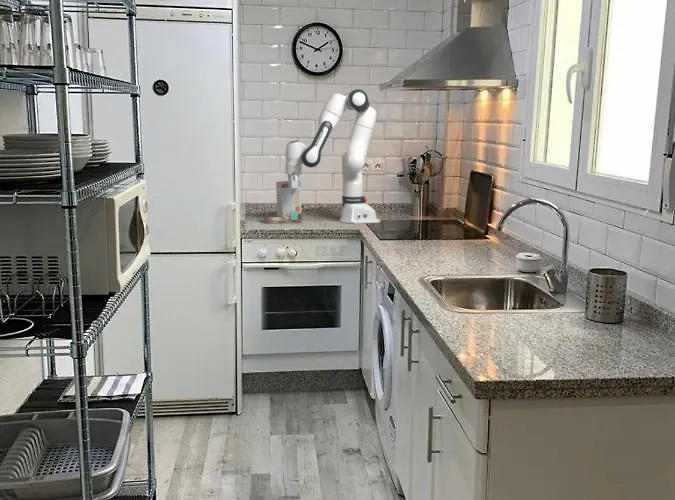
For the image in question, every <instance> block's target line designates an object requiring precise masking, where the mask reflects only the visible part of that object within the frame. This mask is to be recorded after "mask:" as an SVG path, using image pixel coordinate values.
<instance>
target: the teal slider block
mask: <svg viewBox="0 0 675 500" xmlns="http://www.w3.org/2000/svg"><path fill="white" fill-rule="evenodd" d="M290 217H291V220H298V212H297V211H294V212H290Z"/></svg>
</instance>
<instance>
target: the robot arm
mask: <svg viewBox="0 0 675 500" xmlns="http://www.w3.org/2000/svg"><path fill="white" fill-rule="evenodd" d="M348 110H349V111H355V113H356V114H355V115H356V117H355V120H354V123H353V127H352V131H351V134H350V136H349V141H348V147H347V150H346V151H345V152H344V154H343V155H342V157H341V172H342V173H341V174H342V196H341V215H340V219H339V222H341V223H345V224H346V223H347V224H354V225H355V224H379V223H381V219H380V218H378V217H377V212H376V210H375V209H374V208H373V207H372V206H370V205H369V204H368V203H367V202H368V201H369V198H368V197H366V196H364V194H363V193H364V181H363V180H364V179H363V171H362V170H363V168H364V166H365V164H366V160H367V155H368V151H369V148H370V147H369V146H370V143H371V139H372V136H373V132H374V130H375V125H376V121H377V110H376V109H375V108H374V107H372V106H370V101H369V97H368V94H367V92H366V91H365V90H363V89H360V88H355V89H351V90H350V91H349V92H348V93H346V94H345V95H344V94H342V93H333V94H332V95H331V96H330V98H328V100H327V101H326V103H325V105H324V106H323V108H322V110H321V113H320V114H319V118H318V128H317V132H316V134H315V135H314V138H313V140H312V141H311V144H310V145H306V144H305V143H303V142H302V141H301V140H293V141H289V142H288V143H287V144H286V147H285V161H286V162H285V169H284V170H285V171H284V172H285V175H287V181H288V182H289V186H290V188H291V195H292V197H295V194H296V189H298V181H299V178H300V176H301V175H302V171H303V169H302V168H303V165H304V166H305V167H307V168H315V167H317V166H318V165H320V161H321V157H322V150H323V149H324V146H325V145H326V142H327V140H328V138H329V136H330V135H331V133H332V132H334V130H335V129H336V127H337V126H338V124H339V123H340V122H341V119H342V117H343V115H344V113H346V111H348Z"/></svg>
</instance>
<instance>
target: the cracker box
mask: <svg viewBox="0 0 675 500" xmlns="http://www.w3.org/2000/svg"><path fill="white" fill-rule="evenodd" d="M275 183H276V184H275V185H276V187H275V189H276V191H275V192H276V217H290V212H294V211H297V212H298V214H301V217H302V216H303V214H302V212H303V209H302V180H298V189H296V194H295V197H292V195H291V188H290V186H289V182H288V180H283V181H282V180H280V181H276V182H275Z"/></svg>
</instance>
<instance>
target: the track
mask: <svg viewBox="0 0 675 500" xmlns="http://www.w3.org/2000/svg"><path fill="white" fill-rule="evenodd" d="M302 220H303V219H302V216H301V214H298V220H291V217H277V216H275V217H274V216H273V217H272V216H271V217H270V216H269V211H264V224H267V225H268V224H269V225H270V224H274V225H275V224H276V225H277V224H303V221H302Z"/></svg>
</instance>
